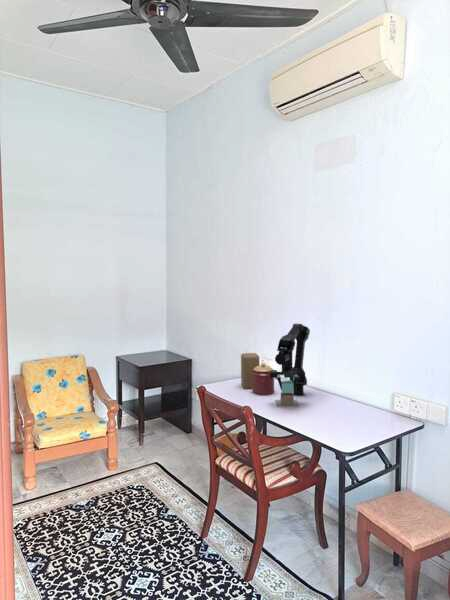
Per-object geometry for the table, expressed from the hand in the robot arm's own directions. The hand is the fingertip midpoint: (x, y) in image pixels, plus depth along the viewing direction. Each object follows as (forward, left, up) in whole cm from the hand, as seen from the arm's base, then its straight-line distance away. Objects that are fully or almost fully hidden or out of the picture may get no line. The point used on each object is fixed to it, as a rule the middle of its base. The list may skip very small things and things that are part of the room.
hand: (287, 389), depth 236 cm
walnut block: (0, 0, -8) cm, 8 cm away
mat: (0, 0, -8) cm, 8 cm away
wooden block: (-34, -18, -8) cm, 39 cm away
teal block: (0, 0, -1) cm, 1 cm away
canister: (-21, -11, -8) cm, 25 cm away
